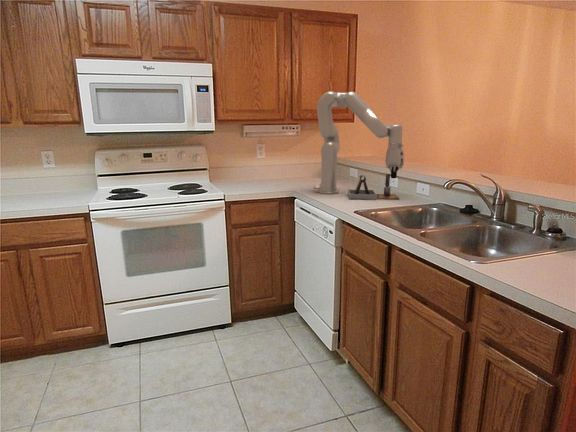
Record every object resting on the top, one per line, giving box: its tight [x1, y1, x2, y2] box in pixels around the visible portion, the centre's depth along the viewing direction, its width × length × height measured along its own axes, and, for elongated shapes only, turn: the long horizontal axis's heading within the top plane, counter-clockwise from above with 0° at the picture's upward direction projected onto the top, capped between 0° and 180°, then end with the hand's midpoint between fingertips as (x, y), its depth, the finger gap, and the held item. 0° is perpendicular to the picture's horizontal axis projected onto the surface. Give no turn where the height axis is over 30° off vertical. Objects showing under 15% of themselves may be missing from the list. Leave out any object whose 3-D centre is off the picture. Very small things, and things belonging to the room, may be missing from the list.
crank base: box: [376, 193, 400, 201], centre depth 227 cm, size 12×12×1 cm
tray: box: [347, 189, 378, 201], centre depth 228 cm, size 15×16×3 cm
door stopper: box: [354, 174, 369, 194], centre depth 227 cm, size 9×6×12 cm, turn 85°
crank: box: [383, 173, 391, 196], centre depth 228 cm, size 10×4×12 cm, turn 167°
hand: (393, 178), depth 230 cm, fingers closed
